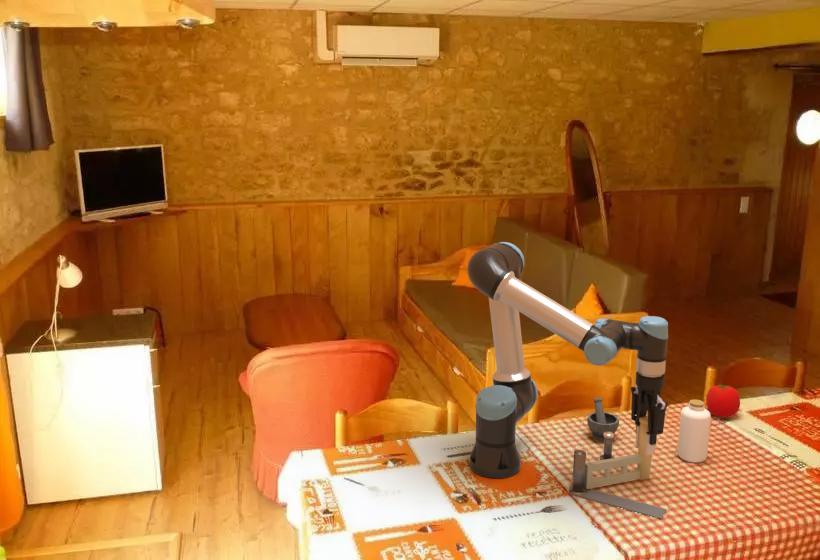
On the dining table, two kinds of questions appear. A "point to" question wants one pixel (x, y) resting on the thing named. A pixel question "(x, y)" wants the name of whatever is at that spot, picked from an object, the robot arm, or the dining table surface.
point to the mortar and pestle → (601, 421)
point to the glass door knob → (607, 446)
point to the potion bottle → (694, 432)
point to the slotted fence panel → (621, 464)
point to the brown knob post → (578, 474)
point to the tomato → (723, 401)
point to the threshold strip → (624, 503)
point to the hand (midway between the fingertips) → (644, 450)
